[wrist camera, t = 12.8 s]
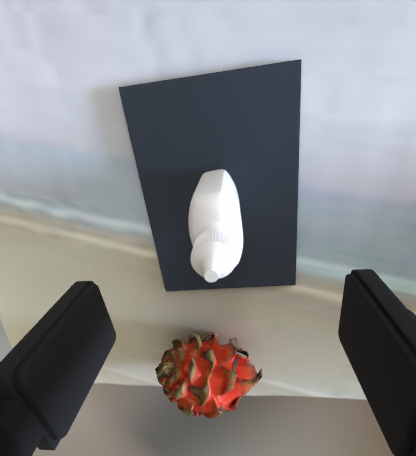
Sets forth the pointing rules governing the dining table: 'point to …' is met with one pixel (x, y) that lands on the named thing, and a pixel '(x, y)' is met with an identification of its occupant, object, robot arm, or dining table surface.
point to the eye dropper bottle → (215, 226)
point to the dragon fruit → (206, 375)
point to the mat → (221, 165)
